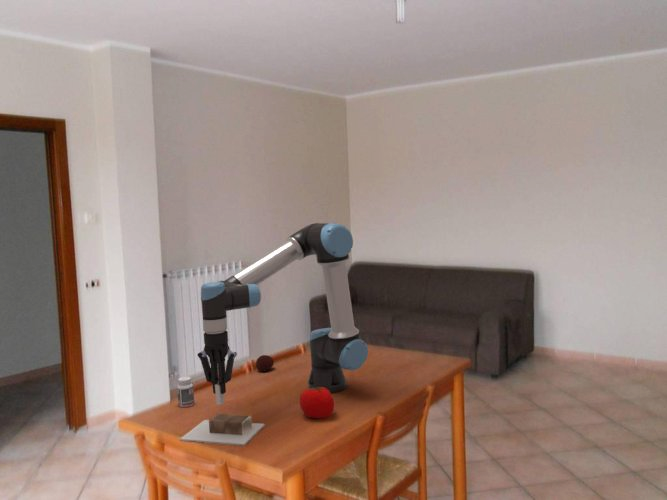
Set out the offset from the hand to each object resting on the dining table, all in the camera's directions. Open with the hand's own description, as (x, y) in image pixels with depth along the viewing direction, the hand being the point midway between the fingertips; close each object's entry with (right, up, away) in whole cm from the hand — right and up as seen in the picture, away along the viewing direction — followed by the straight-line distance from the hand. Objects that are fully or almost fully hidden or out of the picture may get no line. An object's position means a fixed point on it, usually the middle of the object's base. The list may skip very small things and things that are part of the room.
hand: (220, 403), depth 189 cm
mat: (+1, -9, 0) cm, 10 cm away
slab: (-2, -7, +1) cm, 7 cm away
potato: (+7, -4, +68) cm, 68 cm away
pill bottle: (-18, -8, +28) cm, 34 cm away
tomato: (+31, -7, +11) cm, 34 cm away
